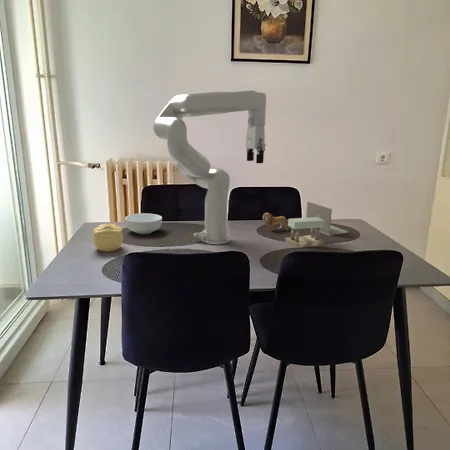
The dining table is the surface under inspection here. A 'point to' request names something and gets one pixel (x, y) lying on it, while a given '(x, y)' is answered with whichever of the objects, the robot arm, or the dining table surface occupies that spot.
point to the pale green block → (305, 223)
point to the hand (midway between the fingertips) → (254, 162)
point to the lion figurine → (274, 221)
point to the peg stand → (305, 239)
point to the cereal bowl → (143, 222)
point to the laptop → (323, 218)
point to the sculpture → (107, 237)
